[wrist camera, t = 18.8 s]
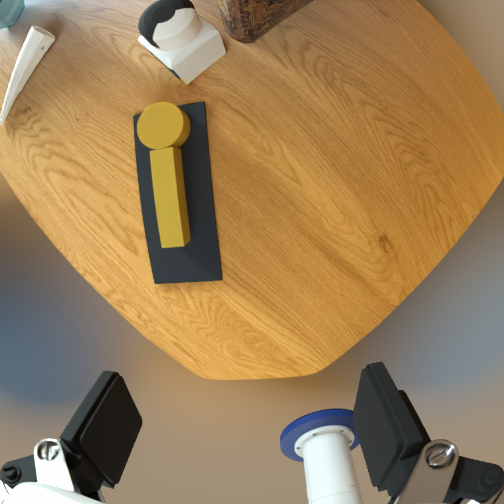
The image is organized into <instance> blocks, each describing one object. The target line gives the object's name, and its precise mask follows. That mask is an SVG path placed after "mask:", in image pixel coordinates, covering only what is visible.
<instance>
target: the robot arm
mask: <svg viewBox="0 0 504 504" xmlns="http://www.w3.org/2000/svg"><path fill="white" fill-rule="evenodd" d="M353 422H354V425H355V428H356V432H357V435H358V438H359V441H360V445H361V448H362V451H363V454H364V458H365V462H366V465H367V468H368V472H369V475H370V479H371V482H372V485H373V486H374V487H376V486H377V487H378V491H379V492H380V491H383V490H387V492H388V495H389V496H390V499H389V500H388V502H387V503H386V504H504V471H503V469H502V468H501V467H500V466H498V465H496V464H492V463H487V462H483V461H478V460H474V459H470V458H466V457H462V456H459V452H458V449H457V447H456V446H455V444H453V443H452V442H450V441H448V440H444V439H438V440H433V441H431V440H430V438H429V436H428V434H427V432H426V430H425V428H424V426H423V424H422V422H421V420H420V418H419V416H418V415H417V413H416V411H415V409H414V407H413V405H412V403H411V402H410V400H409V398H408V396H407V394H406V393H405V392H404V391H403V390H398V389H397V387H396V386H395V384H394V382H393V380H392V378H391V376H390V375H389V373H388V371H387V369H386V368H385V366H384V364H383V363H382V362H377V363H372V364H368V365H367V366H366V368H365V369H362V372H361V377H360V382H359V388H358V392H357V397H356V402H355V406H354V411H353ZM141 426H142V418H141V415H140V414H139V412H138V410H137V408H136V406H135V403H134V402H133V399H132V397H131V395H130V393H129V391H128V388H127V386H126V384H125V382H124V379H123V378H122V376H120V375H119V373H117V372H112V371H103V373H102V374H101V375H100V377H99V378H98V380H97V381H96V382H95V384H94V386H93V387H92V388H91V390H90V391H89V393H88V394H87V396H86V397H85V399H84V400H83V402H82V403H81V405H80V406H79V408H78V409H77V411H76V412H75V414H74V416H73V417H72V419H71V420H70V422H69V423H68V425H67V426H66V428H65V430H64V431H63V433H62V434H61V436H60V438H61V440H60V442H59V441H58V440H56V439H54V438H45V439H43V440H41V441H39V442H38V443H37V444H36V446H35V448H34V455H30V456H28V457H24V458H20V459H16V460H13V461H9V462H7V463H5V464H4V465H3V467H2V468H1V471H0V504H106V501H105V499H104V497H103V495H102V492H101V490H100V488H101V485H103V486H106V487H109V488H112V489H113V488H114V486H115V484H117V483H119V481H120V478H121V475H122V473H123V471H124V468H125V466H126V463H127V461H128V458H129V456H130V453H131V451H132V448H133V446H134V443H135V441H136V438H137V436H138V433H139V431H140V429H141ZM353 442H354V434H353V431H352V430H351V429H350V428H348V427H345V426H340V425H330V426H323V427H319V428H316V429H313V430H311V431H309V432H307V433H305V434H303V435H302V436H301V437H299V438H298V440H297V441H296V442H295V452H296V454H297V455H298V456H300V457H302V458H303V459H304V468H305V477H306V486H307V495H308V504H364V503H363V499H362V495H361V491H360V487H359V483H358V479H357V474H356V471H355V467H354V463H353V459H352V456H351V452H350V446H351V445H352V443H353Z"/></svg>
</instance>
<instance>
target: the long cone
mask: <svg viewBox="0 0 504 504" xmlns="http://www.w3.org/2000/svg"><path fill="white" fill-rule="evenodd" d="M55 39H56V38H55V36H54V35H53V34H52V33H50V32H49V31H47V30H45V29H43V28H40V27H37V26H32V27H31V29H30V31H29V33H28V36H27V38H26V40H25V42H24V45H23V47H22V50H21V52H20V55H19V57H18V60H17V62H16V65H15V68H14V71H13V74H12V77H11V80H10V83H9V86H8V89H7V93H6V96H5V100H4V104H3V107H2V112H1V116H0V125H3V123H4V122H5V120H6V118H7V116H8V114H9V112H10V110H11V108H12V106H13V104H14V102H15V100H16V98H17V96H18V94H19V92H21V90H22V89H23V87H24V85H25V84H26V82H27V80H28V79H29V77H30V75H31V74H32V72H33V71H34V69H35V67H36V66H37V64H38V63H39V61H40V60H41V58H42V57H43V56H44V54H45V53H46V51H47V50H48V49H49V47H50V46H51V44H52V43H53V42H54V40H55Z"/></svg>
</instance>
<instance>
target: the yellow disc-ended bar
mask: <svg viewBox="0 0 504 504" xmlns="http://www.w3.org/2000/svg"><path fill="white" fill-rule="evenodd" d="M137 133H138V137H139V139H140V141H141V142H142V143H143V144H144V145H145V146H147V147H149V148H152V149H156V150H153V151H150V160H151V170H152V180H153V189H154V197H155V205H156V213H157V220H158V227H159V233H160V240H161V246H162V248H169V247H181V246H185V245H186V244H187V243H188V242H189V241H190V240H191V235H190V228H189V220H188V212H187V204H186V195H185V186H184V176H183V166H182V156H181V149H179V148H178V147H180V146H181V145H182V144H183V143H184V142H185V141H186V140H187V138H188V136H189V133H190V120H189V118H188V116H187V114H186V113H185V112H184V111H182V110H181V109H180V108H178V107H177V106H176V105H174V104H172V103H170V102H157V103H154V104H152V105H150V106H149V107H147V108H146V109H145V110H144V111H143V113H142V114H141V116H140V118H139V120H138V124H137Z"/></svg>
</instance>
